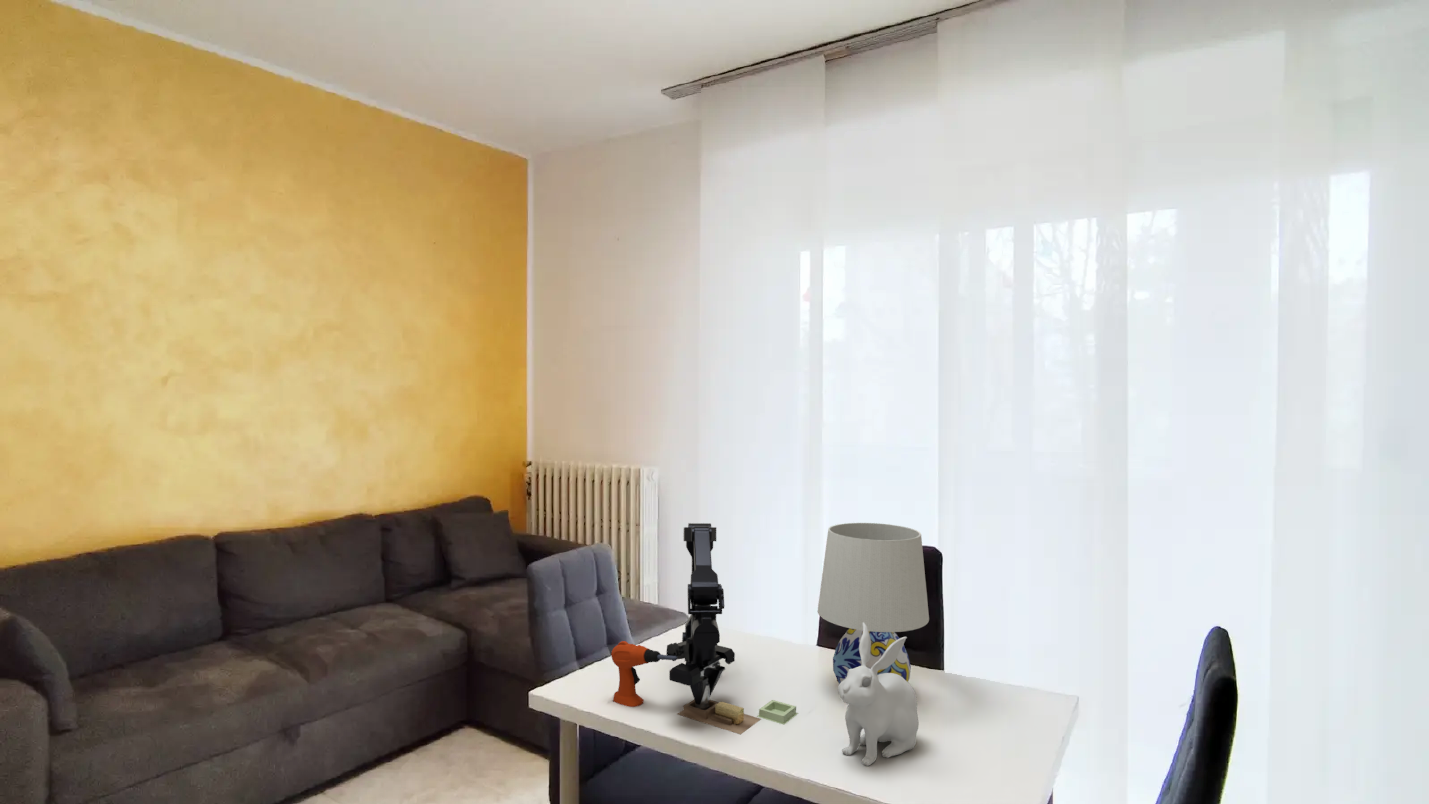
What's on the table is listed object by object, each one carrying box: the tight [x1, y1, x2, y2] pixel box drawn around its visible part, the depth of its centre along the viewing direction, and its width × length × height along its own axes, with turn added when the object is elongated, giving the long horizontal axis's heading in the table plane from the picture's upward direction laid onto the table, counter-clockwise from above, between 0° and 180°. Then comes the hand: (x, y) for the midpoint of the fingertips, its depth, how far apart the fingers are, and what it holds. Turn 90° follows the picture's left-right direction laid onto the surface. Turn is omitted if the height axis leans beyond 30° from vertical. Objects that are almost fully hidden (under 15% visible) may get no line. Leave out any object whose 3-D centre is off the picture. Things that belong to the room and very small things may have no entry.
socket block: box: [676, 699, 762, 735], centre depth 165 cm, size 9×17×2 cm, turn 57°
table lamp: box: [817, 522, 930, 685], centre depth 182 cm, size 27×27×40 cm
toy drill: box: [610, 640, 677, 708], centre depth 170 cm, size 5×19×15 cm, turn 60°
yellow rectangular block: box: [715, 701, 745, 724], centre depth 164 cm, size 2×6×3 cm, turn 57°
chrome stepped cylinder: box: [695, 676, 711, 710], centre depth 168 cm, size 3×3×8 cm
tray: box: [756, 699, 799, 726], centre depth 167 cm, size 7×7×2 cm
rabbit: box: [837, 622, 920, 767], centre depth 152 cm, size 12×21×25 cm, turn 128°
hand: (702, 701), depth 168 cm, fingers closed on chrome stepped cylinder, 3 cm apart
